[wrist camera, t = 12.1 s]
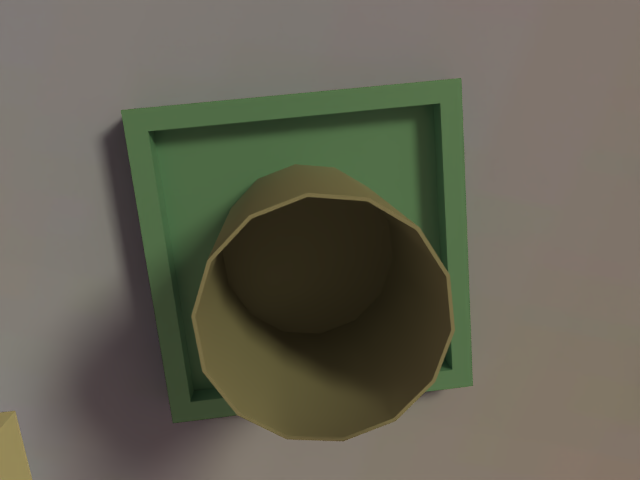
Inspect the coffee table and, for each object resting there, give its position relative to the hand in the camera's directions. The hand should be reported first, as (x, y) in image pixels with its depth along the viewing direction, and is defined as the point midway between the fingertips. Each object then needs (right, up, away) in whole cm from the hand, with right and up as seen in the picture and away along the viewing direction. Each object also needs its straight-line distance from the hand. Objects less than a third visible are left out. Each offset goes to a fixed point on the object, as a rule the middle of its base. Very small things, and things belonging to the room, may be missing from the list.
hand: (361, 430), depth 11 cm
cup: (-1, +3, +17) cm, 17 cm away
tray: (-1, +3, +17) cm, 18 cm away
